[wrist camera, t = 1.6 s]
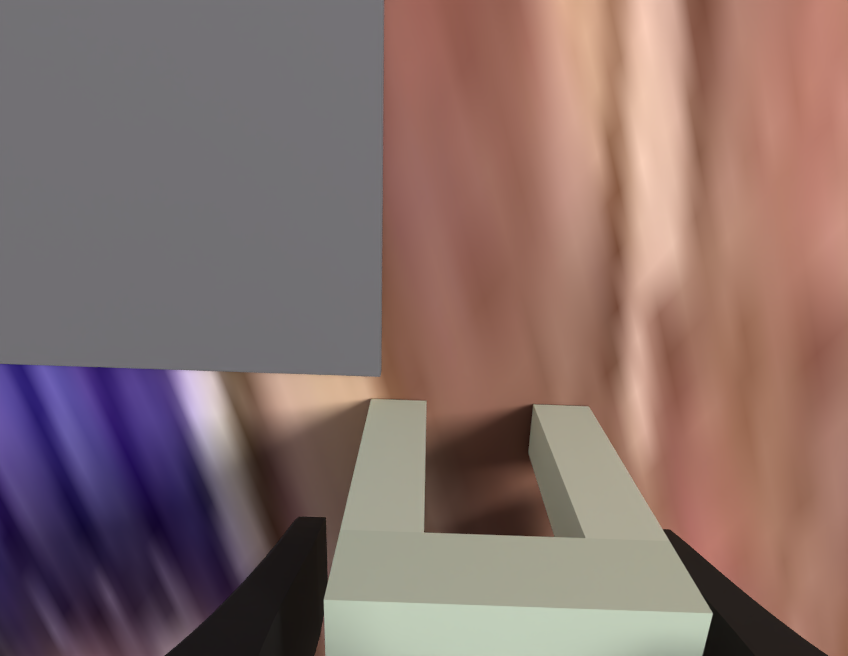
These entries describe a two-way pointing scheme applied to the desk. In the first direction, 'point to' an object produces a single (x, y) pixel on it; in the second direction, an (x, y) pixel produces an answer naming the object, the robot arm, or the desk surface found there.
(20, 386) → the desk surface
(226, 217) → the felt pad
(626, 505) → the slotted sage cube
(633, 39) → the desk surface
